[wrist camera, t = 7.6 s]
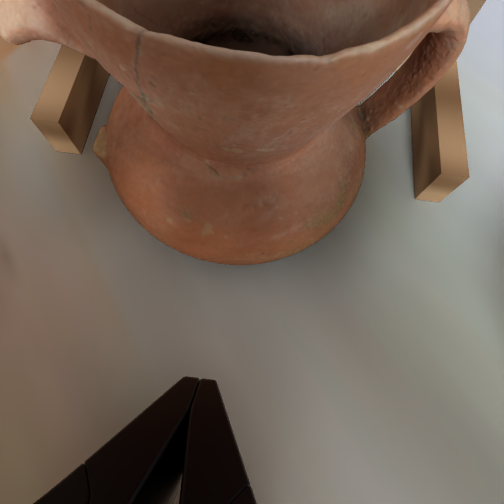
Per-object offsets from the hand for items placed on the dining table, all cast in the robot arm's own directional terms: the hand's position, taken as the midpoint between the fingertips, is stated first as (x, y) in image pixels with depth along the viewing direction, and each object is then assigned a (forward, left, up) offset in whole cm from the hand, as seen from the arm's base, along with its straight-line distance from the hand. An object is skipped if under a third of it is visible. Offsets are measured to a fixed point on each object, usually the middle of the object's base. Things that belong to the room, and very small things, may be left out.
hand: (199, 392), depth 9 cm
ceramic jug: (+13, 0, -10) cm, 16 cm away
